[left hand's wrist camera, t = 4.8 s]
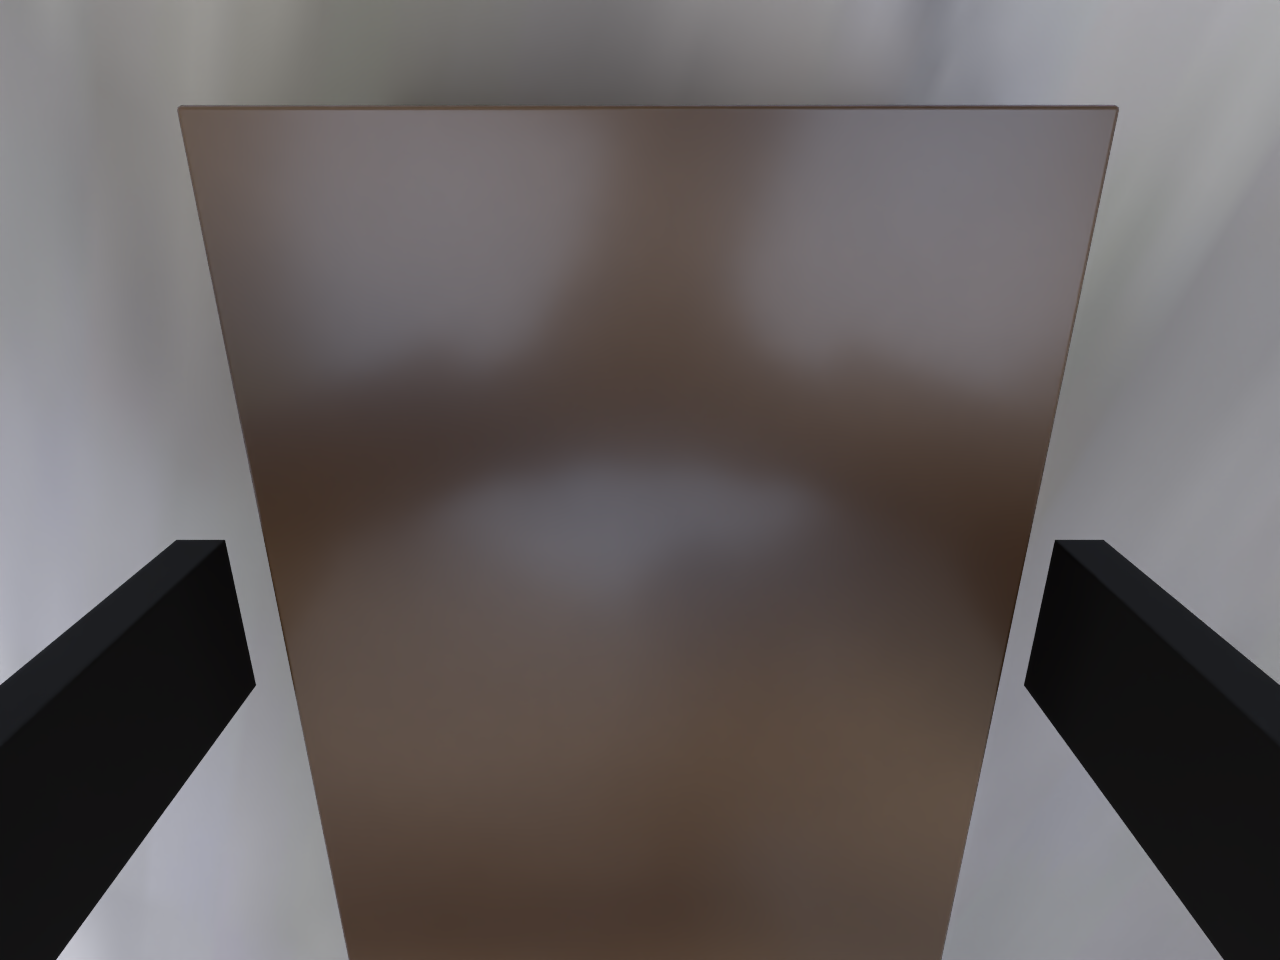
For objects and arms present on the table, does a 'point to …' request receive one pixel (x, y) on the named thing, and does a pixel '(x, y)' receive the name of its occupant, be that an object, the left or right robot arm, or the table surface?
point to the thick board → (646, 499)
